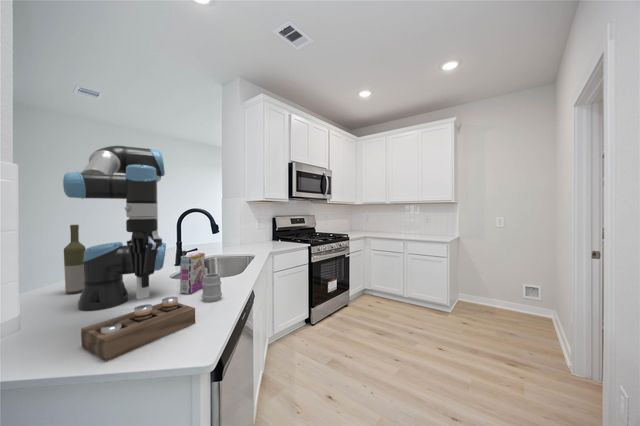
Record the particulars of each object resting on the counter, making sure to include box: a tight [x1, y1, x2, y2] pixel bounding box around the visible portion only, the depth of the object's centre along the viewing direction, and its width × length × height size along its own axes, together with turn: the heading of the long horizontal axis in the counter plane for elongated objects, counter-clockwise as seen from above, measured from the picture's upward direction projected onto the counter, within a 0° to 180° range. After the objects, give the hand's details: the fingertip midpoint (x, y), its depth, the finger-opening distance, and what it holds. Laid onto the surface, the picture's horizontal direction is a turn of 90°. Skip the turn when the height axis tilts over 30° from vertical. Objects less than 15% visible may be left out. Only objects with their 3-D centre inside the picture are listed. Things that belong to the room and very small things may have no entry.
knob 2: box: [133, 304, 153, 323], centre depth 77 cm, size 4×4×5 cm
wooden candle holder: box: [80, 302, 196, 362], centre depth 77 cm, size 14×24×5 cm, turn 151°
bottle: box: [63, 224, 87, 295], centre depth 114 cm, size 7×7×30 cm
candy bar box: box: [179, 252, 206, 295], centre depth 117 cm, size 11×5×16 cm, turn 172°
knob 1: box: [101, 323, 122, 335], centre depth 70 cm, size 4×4×5 cm
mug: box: [201, 267, 223, 303], centre depth 107 cm, size 8×12×12 cm, turn 48°
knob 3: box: [161, 296, 179, 313], centre depth 84 cm, size 4×4×5 cm
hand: (143, 297), depth 76 cm, fingers closed
